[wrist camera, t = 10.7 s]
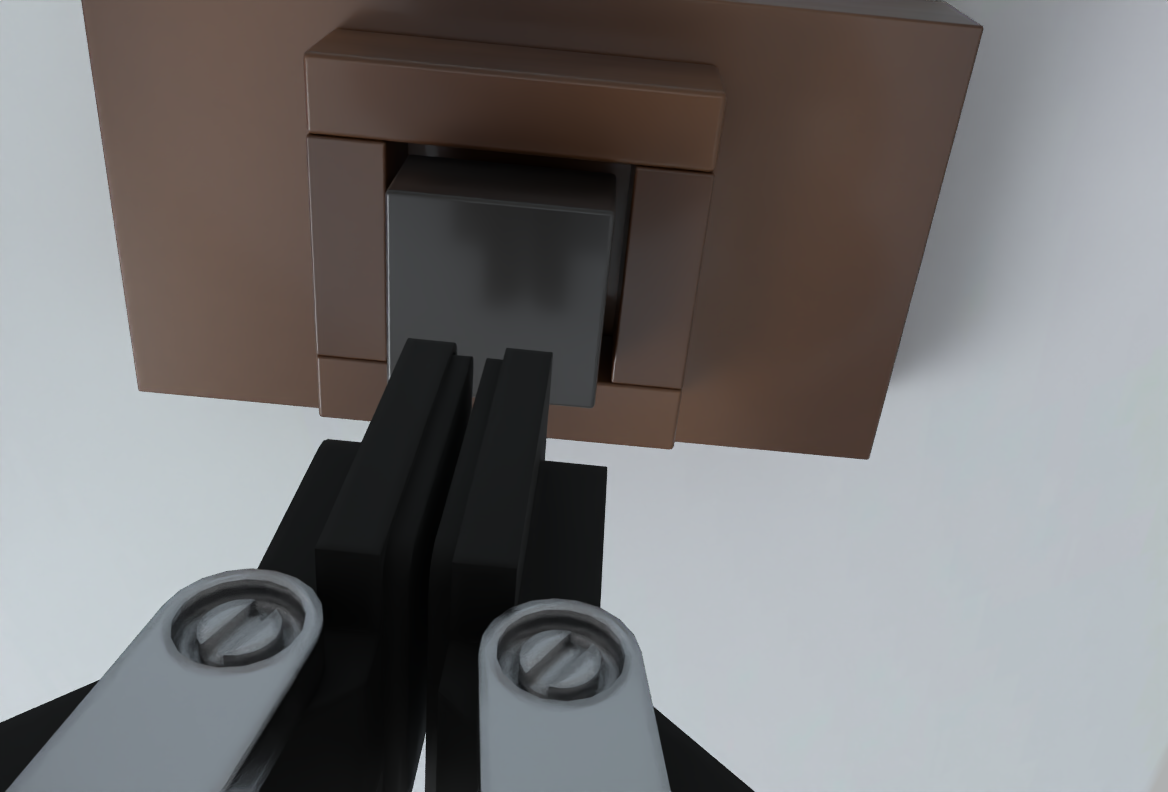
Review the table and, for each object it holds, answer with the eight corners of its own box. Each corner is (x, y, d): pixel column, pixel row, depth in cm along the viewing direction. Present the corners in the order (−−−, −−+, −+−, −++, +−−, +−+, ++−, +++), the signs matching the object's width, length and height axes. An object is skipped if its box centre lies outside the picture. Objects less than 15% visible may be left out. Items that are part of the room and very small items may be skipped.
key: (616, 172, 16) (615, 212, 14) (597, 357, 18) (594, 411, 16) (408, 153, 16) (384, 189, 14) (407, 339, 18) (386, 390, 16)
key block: (947, 1, 18) (1023, 51, 14) (848, 402, 22) (889, 517, 18) (130, -79, 18) (9, -48, 14) (181, 339, 22) (95, 442, 18)
